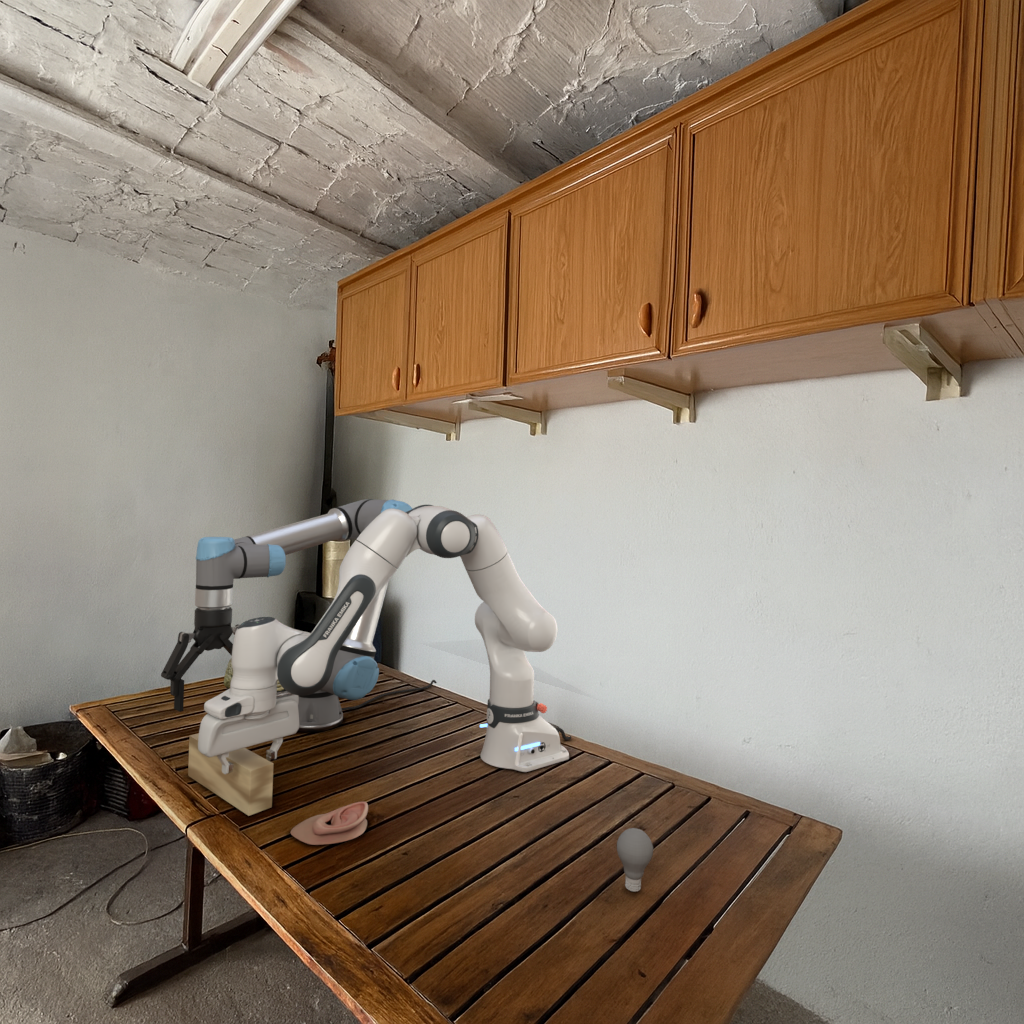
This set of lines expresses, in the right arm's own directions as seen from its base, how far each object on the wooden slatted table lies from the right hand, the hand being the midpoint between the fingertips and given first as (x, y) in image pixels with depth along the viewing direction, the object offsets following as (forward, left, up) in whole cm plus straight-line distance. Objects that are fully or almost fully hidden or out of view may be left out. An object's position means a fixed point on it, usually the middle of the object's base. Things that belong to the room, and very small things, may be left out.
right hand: (249, 765), depth 129 cm
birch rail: (+3, -8, -8) cm, 12 cm away
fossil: (-8, -74, -8) cm, 75 cm away
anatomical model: (-13, +16, -8) cm, 22 cm away
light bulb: (-55, +54, -8) cm, 78 cm away
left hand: (+7, -17, +8) cm, 20 cm away
